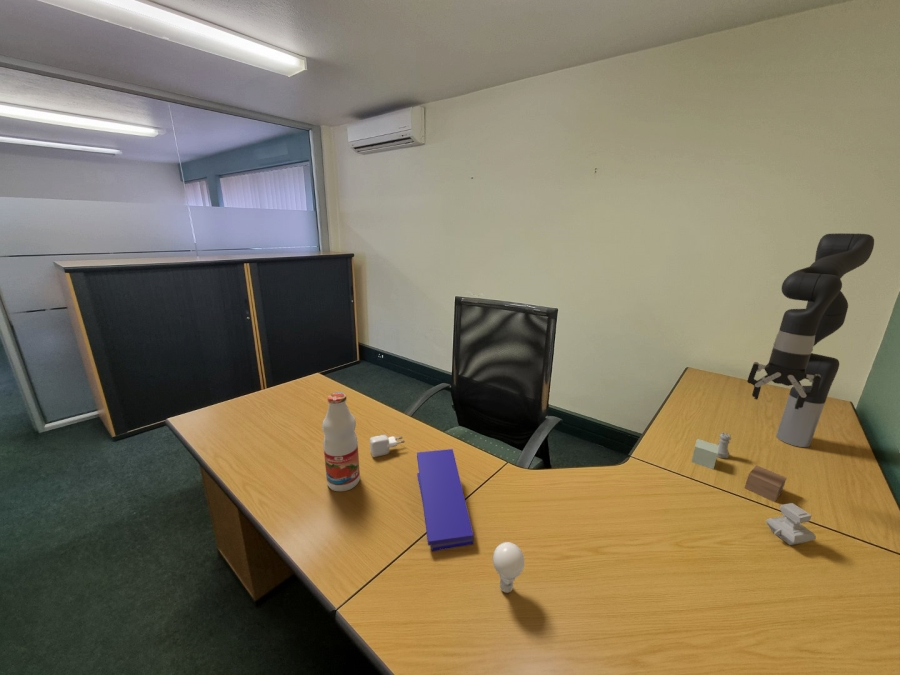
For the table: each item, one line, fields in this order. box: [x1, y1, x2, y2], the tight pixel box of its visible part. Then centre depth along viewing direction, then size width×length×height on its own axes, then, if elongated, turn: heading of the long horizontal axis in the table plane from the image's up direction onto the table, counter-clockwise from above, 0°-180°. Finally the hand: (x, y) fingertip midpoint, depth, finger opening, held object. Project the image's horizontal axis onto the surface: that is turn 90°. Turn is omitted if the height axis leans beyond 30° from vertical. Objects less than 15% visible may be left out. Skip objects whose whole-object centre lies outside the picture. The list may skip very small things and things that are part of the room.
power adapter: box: [369, 434, 405, 458], centre depth 120 cm, size 11×5×6 cm, turn 113°
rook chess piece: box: [717, 432, 732, 459], centre depth 121 cm, size 4×4×8 cm
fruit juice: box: [321, 392, 361, 492], centre depth 102 cm, size 9×9×28 cm
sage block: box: [691, 438, 719, 470], centre depth 118 cm, size 6×6×6 cm
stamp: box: [765, 502, 817, 546], centre depth 88 cm, size 9×7×8 cm
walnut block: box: [744, 464, 787, 503], centre depth 105 cm, size 7×7×5 cm
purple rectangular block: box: [416, 448, 474, 552], centre depth 96 cm, size 12×28×10 cm, turn 12°
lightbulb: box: [492, 541, 525, 594], centre depth 74 cm, size 6×6×11 cm
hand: (775, 403), depth 100 cm, fingers open, 8 cm apart
